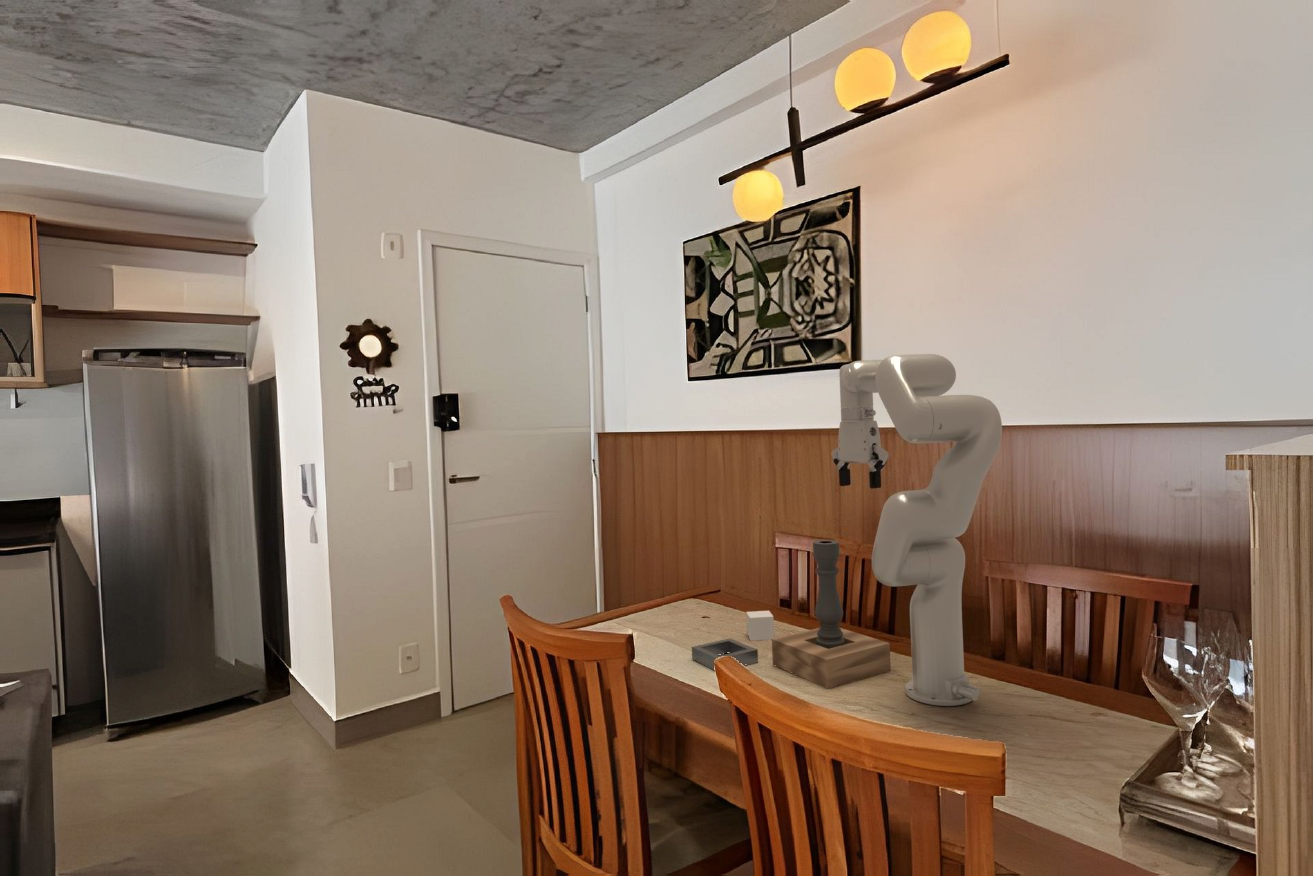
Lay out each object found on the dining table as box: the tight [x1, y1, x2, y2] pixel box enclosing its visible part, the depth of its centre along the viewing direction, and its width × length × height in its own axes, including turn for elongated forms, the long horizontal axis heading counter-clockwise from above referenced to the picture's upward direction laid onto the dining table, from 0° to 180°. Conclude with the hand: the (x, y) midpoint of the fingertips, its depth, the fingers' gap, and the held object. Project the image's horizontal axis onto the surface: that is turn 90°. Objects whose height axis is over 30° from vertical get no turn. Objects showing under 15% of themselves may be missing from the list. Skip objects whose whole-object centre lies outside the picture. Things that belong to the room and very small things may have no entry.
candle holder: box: [812, 539, 845, 649], centre depth 158 cm, size 6×6×25 cm
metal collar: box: [691, 638, 759, 671], centre depth 166 cm, size 11×11×3 cm
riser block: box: [771, 627, 892, 689], centre depth 158 cm, size 18×18×6 cm
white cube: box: [745, 610, 775, 642], centre depth 184 cm, size 6×6×6 cm
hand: (859, 486), depth 171 cm, fingers open, 9 cm apart
